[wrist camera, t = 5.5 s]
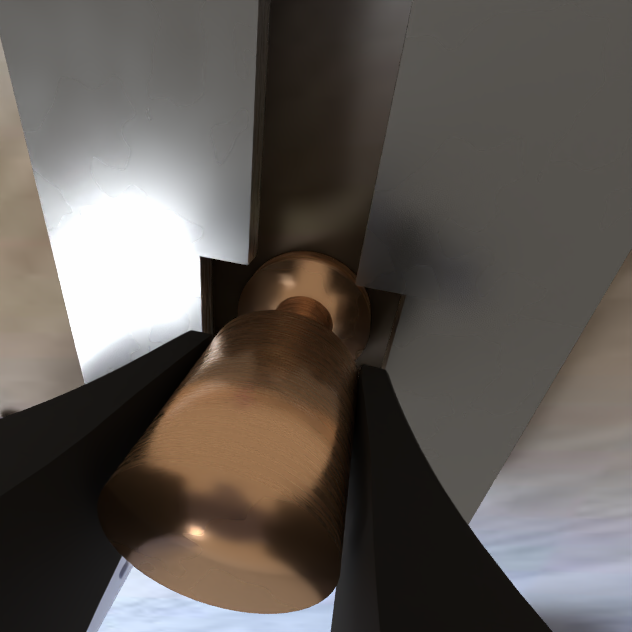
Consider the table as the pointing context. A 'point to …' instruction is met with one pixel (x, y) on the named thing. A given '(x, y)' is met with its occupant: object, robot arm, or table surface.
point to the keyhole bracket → (388, 198)
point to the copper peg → (252, 449)
